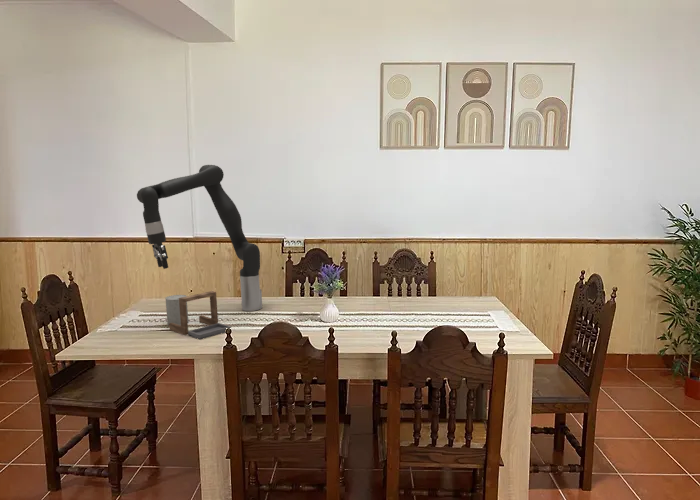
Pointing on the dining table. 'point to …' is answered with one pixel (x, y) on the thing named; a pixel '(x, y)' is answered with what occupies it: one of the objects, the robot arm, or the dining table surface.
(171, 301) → the grey upright pillar
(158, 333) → the dining table surface
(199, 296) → the walnut frame
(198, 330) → the grey shallow rectangular tray
